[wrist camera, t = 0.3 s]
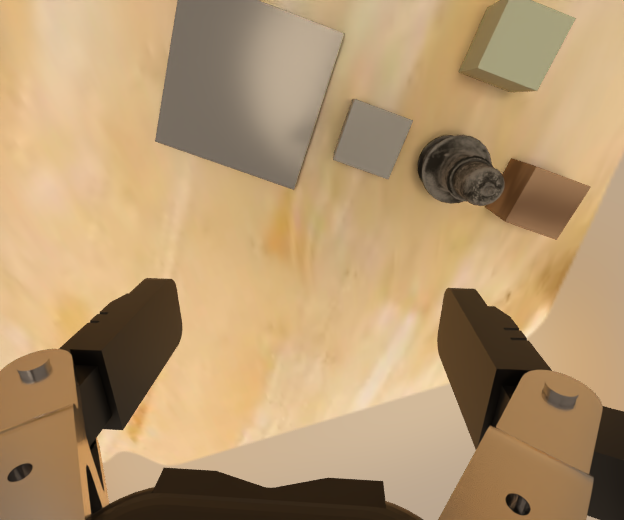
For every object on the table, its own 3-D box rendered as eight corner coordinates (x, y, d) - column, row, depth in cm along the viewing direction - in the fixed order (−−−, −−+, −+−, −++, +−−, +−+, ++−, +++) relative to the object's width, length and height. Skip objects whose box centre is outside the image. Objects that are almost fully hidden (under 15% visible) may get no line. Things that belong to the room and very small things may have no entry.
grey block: (352, 99, 35) (354, 98, 30) (403, 117, 35) (413, 120, 30) (333, 152, 36) (333, 159, 32) (382, 169, 37) (388, 179, 32)
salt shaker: (479, 187, 37) (540, 224, 26) (418, 199, 38) (451, 241, 27) (475, 124, 35) (539, 136, 24) (410, 140, 36) (443, 158, 24)
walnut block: (511, 157, 36) (536, 166, 31) (558, 175, 36) (590, 186, 31) (484, 206, 38) (505, 221, 33) (530, 222, 38) (556, 239, 33)
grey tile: (186, -26, 32) (182, -29, 31) (344, 35, 32) (344, 33, 32) (159, 140, 37) (155, 141, 36) (295, 187, 38) (294, 189, 37)
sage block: (486, 8, 31) (512, -8, 27) (541, 30, 32) (575, 18, 27) (458, 72, 33) (477, 67, 29) (509, 92, 34) (537, 90, 29)
